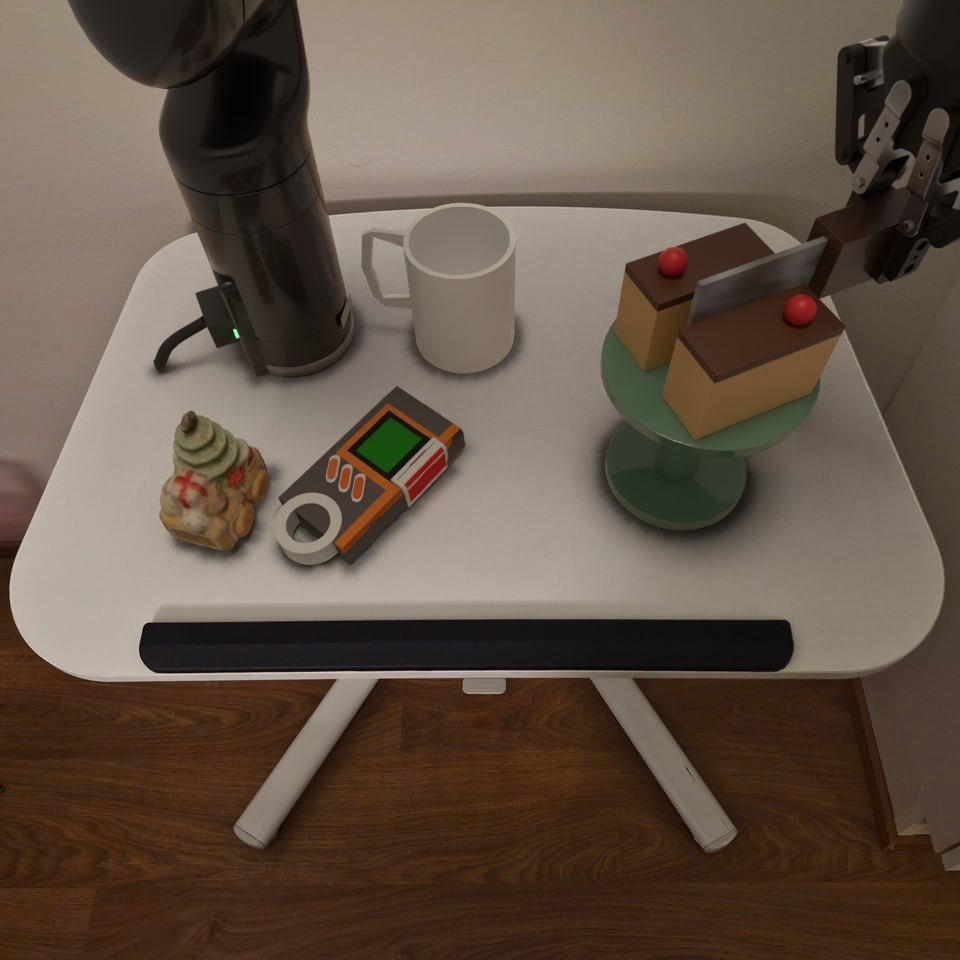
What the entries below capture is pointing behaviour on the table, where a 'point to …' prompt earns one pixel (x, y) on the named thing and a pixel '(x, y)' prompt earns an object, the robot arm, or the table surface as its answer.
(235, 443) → the ornament
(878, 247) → the knife
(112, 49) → the robot arm
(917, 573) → the table surface
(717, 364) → the cake
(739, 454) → the cake stand
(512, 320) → the cup
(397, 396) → the electronic device
